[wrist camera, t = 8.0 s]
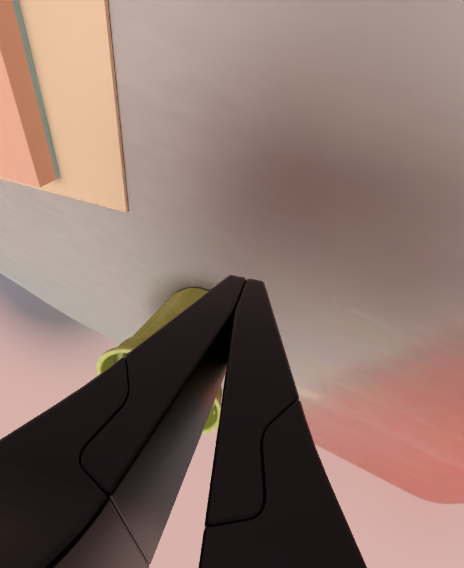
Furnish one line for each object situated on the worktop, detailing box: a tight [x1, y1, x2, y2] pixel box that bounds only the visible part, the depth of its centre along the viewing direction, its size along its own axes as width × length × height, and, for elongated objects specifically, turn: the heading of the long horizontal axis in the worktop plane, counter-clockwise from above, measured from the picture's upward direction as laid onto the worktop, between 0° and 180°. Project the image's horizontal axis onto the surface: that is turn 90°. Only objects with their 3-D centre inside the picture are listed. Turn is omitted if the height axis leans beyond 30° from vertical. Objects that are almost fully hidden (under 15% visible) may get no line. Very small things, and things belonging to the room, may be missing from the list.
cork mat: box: [0, 0, 128, 212], centre depth 20 cm, size 16×13×1 cm
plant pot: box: [96, 288, 222, 435], centre depth 25 cm, size 9×9×9 cm
